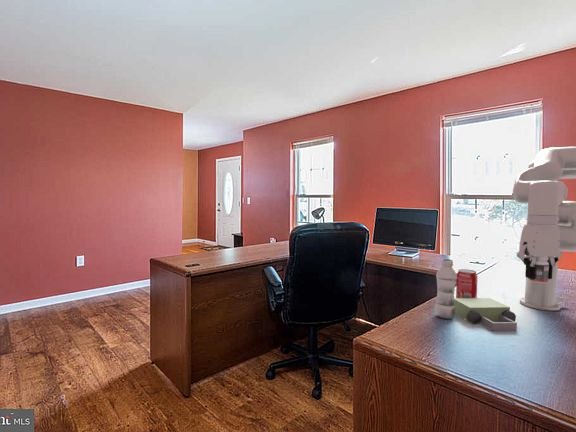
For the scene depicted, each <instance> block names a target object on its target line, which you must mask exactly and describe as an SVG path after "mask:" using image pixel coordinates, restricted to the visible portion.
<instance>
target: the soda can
mask: <svg viewBox="0 0 576 432" xmlns="http://www.w3.org/2000/svg"><path fill="white" fill-rule="evenodd" d="M456 275H457V279H456V284H455V288H456V289H455V298H478V297H477V296H478V275H477V270H473V269H469V268H467V269H466V268H462V269H461V268H460V269H458V271H457V273H456Z"/></svg>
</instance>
